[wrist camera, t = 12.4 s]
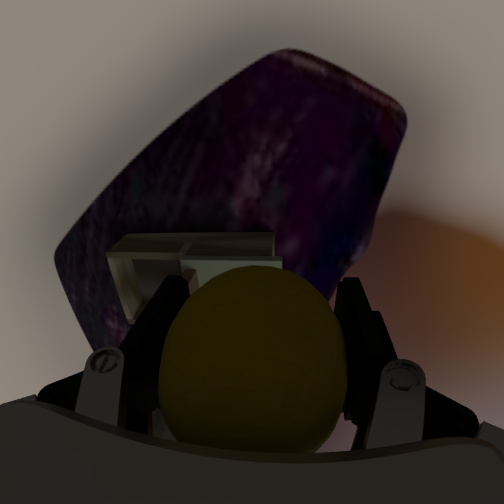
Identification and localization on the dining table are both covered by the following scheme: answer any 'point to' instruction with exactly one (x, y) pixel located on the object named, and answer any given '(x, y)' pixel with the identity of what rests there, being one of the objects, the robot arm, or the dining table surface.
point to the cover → (219, 266)
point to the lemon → (254, 364)
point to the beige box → (171, 259)
